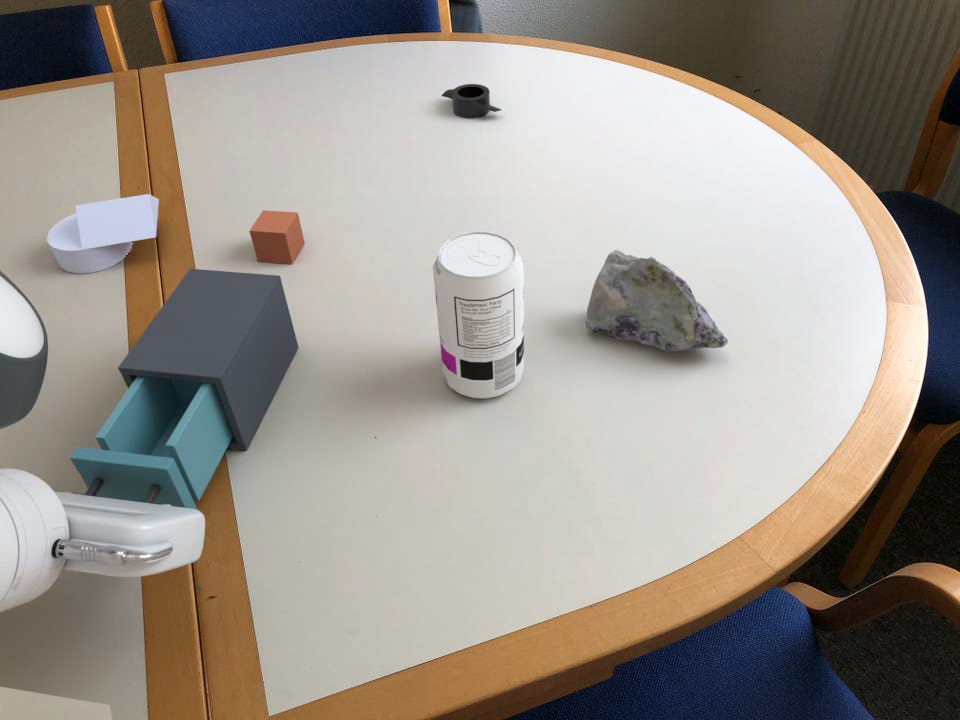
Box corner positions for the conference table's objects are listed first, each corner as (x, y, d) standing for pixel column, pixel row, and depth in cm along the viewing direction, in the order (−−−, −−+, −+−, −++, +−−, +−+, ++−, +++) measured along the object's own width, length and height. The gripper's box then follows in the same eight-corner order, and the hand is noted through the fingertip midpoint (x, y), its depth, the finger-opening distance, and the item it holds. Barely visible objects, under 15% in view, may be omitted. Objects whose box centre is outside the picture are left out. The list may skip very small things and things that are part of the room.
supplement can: (427, 383, 80) (413, 262, 70) (473, 337, 85) (465, 218, 75) (494, 414, 77) (490, 292, 66) (538, 364, 81) (540, 243, 71)
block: (292, 264, 96) (285, 233, 93) (257, 261, 97) (249, 230, 94) (304, 243, 99) (297, 212, 96) (270, 240, 100) (262, 210, 97)
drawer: (171, 574, 64) (139, 516, 58) (76, 561, 65) (36, 503, 60) (254, 412, 77) (234, 353, 71) (174, 404, 78) (148, 345, 73)
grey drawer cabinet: (247, 451, 74) (220, 377, 68) (152, 440, 76) (117, 367, 69) (299, 347, 85) (280, 275, 78) (215, 339, 86) (189, 268, 80)
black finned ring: (486, 92, 129) (485, 75, 127) (504, 119, 122) (504, 101, 120) (440, 100, 127) (438, 82, 125) (455, 127, 120) (454, 109, 118)
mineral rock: (729, 359, 81) (748, 280, 74) (643, 396, 78) (655, 317, 71) (653, 291, 90) (664, 215, 83) (572, 322, 86) (576, 245, 79)
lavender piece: (166, 221, 104) (62, 238, 102) (150, 175, 99) (41, 192, 97) (164, 260, 98) (53, 279, 95) (147, 213, 93) (29, 232, 91)
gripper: (147, 510, 48) (246, 483, 62) (-146, 473, 51) (10, 455, 65) (137, 614, 48) (238, 564, 62) (-157, 571, 51) (2, 532, 65)
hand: (119, 508), depth 63 cm, fingers closed on drawer, 6 cm apart
